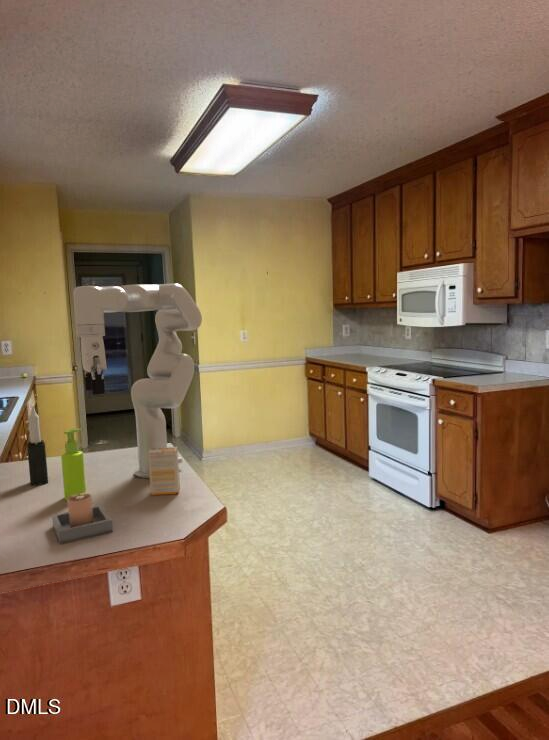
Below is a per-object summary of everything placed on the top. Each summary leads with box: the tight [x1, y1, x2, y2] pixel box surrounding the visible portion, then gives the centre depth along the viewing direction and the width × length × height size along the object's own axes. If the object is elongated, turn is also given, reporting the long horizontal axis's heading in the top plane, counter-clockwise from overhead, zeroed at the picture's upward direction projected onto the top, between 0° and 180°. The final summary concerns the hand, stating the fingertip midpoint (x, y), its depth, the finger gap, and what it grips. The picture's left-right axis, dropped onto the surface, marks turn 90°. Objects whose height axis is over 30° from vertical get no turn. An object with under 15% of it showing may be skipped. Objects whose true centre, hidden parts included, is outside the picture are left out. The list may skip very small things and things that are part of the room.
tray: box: [51, 504, 113, 545], centre depth 129 cm, size 12×12×3 cm
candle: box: [26, 405, 49, 486], centre depth 166 cm, size 5×5×25 cm
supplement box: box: [148, 446, 181, 496], centre depth 153 cm, size 8×5×13 cm, turn 94°
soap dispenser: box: [60, 428, 87, 501], centre depth 152 cm, size 6×7×20 cm
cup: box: [66, 491, 94, 528], centre depth 129 cm, size 6×6×8 cm
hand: (95, 391), depth 146 cm, fingers open, 9 cm apart
